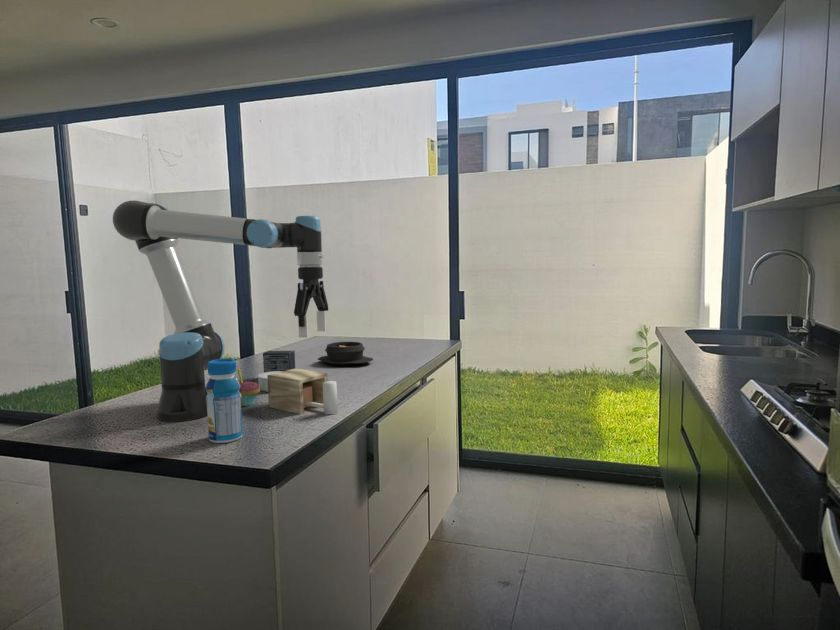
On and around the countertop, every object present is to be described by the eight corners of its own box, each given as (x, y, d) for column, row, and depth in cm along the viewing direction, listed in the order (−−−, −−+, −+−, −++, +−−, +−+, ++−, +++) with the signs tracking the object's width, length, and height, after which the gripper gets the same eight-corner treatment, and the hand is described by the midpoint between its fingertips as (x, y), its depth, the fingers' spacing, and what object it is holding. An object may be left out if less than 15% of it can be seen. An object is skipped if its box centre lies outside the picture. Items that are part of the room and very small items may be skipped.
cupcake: (231, 408, 166) (229, 369, 165) (232, 401, 174) (231, 364, 173) (260, 406, 168) (258, 368, 167) (260, 399, 177) (259, 362, 175)
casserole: (381, 361, 237) (381, 342, 236) (357, 370, 221) (357, 349, 220) (334, 357, 248) (333, 339, 248) (308, 365, 232) (307, 345, 231)
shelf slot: (300, 414, 159) (299, 380, 158) (268, 407, 167) (267, 375, 166) (328, 405, 169) (327, 373, 167) (296, 398, 177) (295, 368, 175)
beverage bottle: (230, 445, 133) (226, 364, 131) (200, 442, 136) (196, 363, 134) (250, 434, 142) (246, 358, 139) (221, 432, 144) (217, 357, 142)
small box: (296, 377, 209) (295, 349, 208) (291, 380, 203) (289, 353, 202) (269, 376, 210) (268, 349, 209) (263, 380, 204) (262, 352, 203)
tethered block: (328, 416, 157) (327, 385, 156) (284, 407, 167) (283, 378, 166) (342, 411, 162) (341, 381, 161) (299, 402, 172) (298, 374, 171)
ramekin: (279, 394, 183) (278, 378, 183) (251, 392, 187) (250, 376, 187) (297, 386, 194) (296, 371, 193) (270, 384, 198) (269, 370, 197)
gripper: (303, 267, 157) (307, 340, 159) (336, 265, 181) (339, 328, 183) (280, 267, 158) (283, 339, 161) (315, 265, 183) (318, 328, 185)
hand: (313, 334), depth 172 cm, fingers open, 13 cm apart
